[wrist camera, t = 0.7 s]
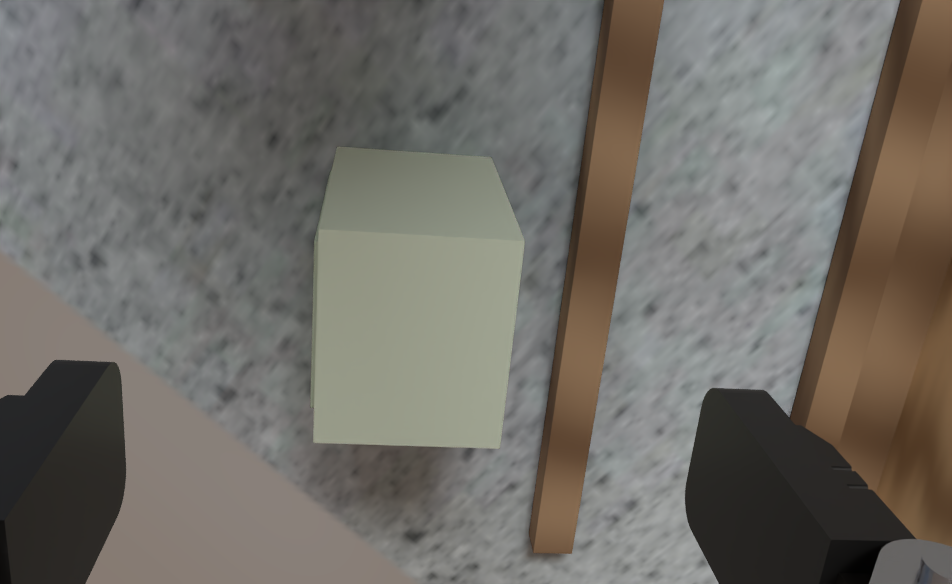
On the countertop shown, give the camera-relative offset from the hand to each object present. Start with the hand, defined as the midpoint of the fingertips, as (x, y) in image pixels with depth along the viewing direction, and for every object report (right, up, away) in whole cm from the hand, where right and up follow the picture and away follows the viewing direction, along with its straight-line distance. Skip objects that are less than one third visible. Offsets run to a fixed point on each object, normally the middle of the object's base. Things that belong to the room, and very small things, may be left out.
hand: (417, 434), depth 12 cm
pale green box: (-1, +4, +18) cm, 18 cm away
